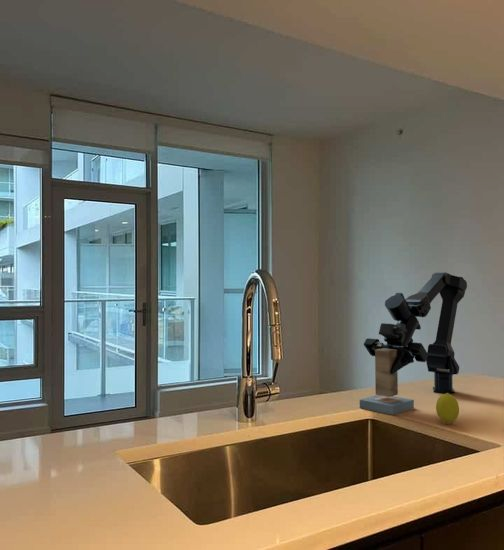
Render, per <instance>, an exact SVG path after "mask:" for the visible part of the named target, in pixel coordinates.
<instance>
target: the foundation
mask: <svg viewBox="0 0 504 550" xmlns="http://www.w3.org/2000/svg"><path fill="white" fill-rule="evenodd" d="M412 408H413V409H414V408H415V399H412V398H405V397H401V396H397V395H394V396H391V397H386V396H381V395H376V394H375V395H371V396H369V397H365V398H361V399H359V409H362V410H363V409H364V410H367V411H373V412H376V413H382V414H386V415H387V414H388V415H391V416H394V415H398V414H401V413H403V412H405V411H410V410H412ZM409 409H410V410H409Z"/></svg>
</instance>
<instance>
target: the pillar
mask: <svg viewBox="0 0 504 550" xmlns="http://www.w3.org/2000/svg"><path fill="white" fill-rule="evenodd" d="M396 357H397V350H396V349H387V348H382V349H376V350H375V356H374V361H375V362H374V365H375V367H374V369H375V371H374V372H375V373H374V374H375V379H374V380H375V381H374V383H375V395H381V396H386V397H391V396H397V395H399V393H398V392H399V388H398V387H399V384H398V380H399V379H398V371H397V372H395V373H394V374H391V373H390V370H391V367H392V365H393V363H394V361H395V359H396Z"/></svg>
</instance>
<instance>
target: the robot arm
mask: <svg viewBox="0 0 504 550" xmlns="http://www.w3.org/2000/svg"><path fill="white" fill-rule="evenodd" d="M467 283H468V282H467V281H466V280H465V278H464V277H463V276H458V275H454V274H453V275H452V274H450V273H448V272H434V273H432V275H431V278H430V279H429V280H428V281H427V282H426V283H425V284H424V286H422V287H421V288H420V290H419V291H418V292H417V293H415V294H411V295H408V296H407V297H406V298H405V296H404V293H403V292H396V293H395V294H394V295H391V296H390V297H388V298H387V299H385V302H384V307H385V308H386V310H387V312H388V313H389V314H390V316H391V318H392V319H393V321H396V324H394V323H386V322H385V323H383V322H382V323H380V325H379V330H378V335H380V336H382V337H383V341H384V342H386V343H384V342H381V341H380V339H379V338H371V337H369V338H365V341H364V343H363V346H364V348H365V349H366V350H367V352H368V353H369V355H370V356H372V357H375V350H376V349H382V348H387V349H396V350H397V357H396V359H395V361H394V363H393V365H392V367H391V370H390V373H391V374H394V373H395V372H398V371H400V370H401V369H402V368H404V367H406V366H408V365H410V364H413V363H414V362H415V361H416V362H419V363H426V367H427V371H428V372H429V373H430V372H432V373H433V375H434V376H433V377H434V379H433V381H434V384H433V385H434V386H432V391H433V393H444V394H446V393H449V394H455V392H456V391H455V389H454V386H453V384H454V383H453V382H454V381H453V380H454V379H453V375H458V374H459V372H460V365H459V364H458V362H457V360H456V358H455V351H454V349H453V346H452V339H453V333H454V329H455V328H454V327H455V322H456V316H457V315H456V314H457V308H458V304H459V303H460V301H461V300H462V299H463V298H464V297H465V294H466V290H467V288H468V284H467ZM438 294H439V295H440V297H441V299H442V302H441V308H440V312H439V318H438V319H439V320H438V324H437V330H436V335H435V341H434V342H433V343H429V344H428V346H427V350H426V349H425V346H424V345H423V343H422V342H415V341H414V339H413V336H414V334H415V331H416V330H421V329H422V328H421V324H420V321H419V319H418V318H426V317H427V316H428V314H429V313H430V310H431V309H432V308H431V303H432V302H433V300H434V299H435V298H436V297H437V296H438Z"/></svg>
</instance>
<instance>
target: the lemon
mask: <svg viewBox="0 0 504 550" xmlns="http://www.w3.org/2000/svg"><path fill="white" fill-rule="evenodd" d="M435 411H436V415H437V416H438V418H439V419H440V420H441V421H442V422H444V423H445V425H450V424H452V422H453V423H454V422H455V421H456V420H457V419H458V417H459V414H460V406H459V402H458V400H457V398H456V397H455V396H454V395H452V394H451V393H444V394H442V395H440V396H439V397H438V399H437V401H436V405H435Z"/></svg>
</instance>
